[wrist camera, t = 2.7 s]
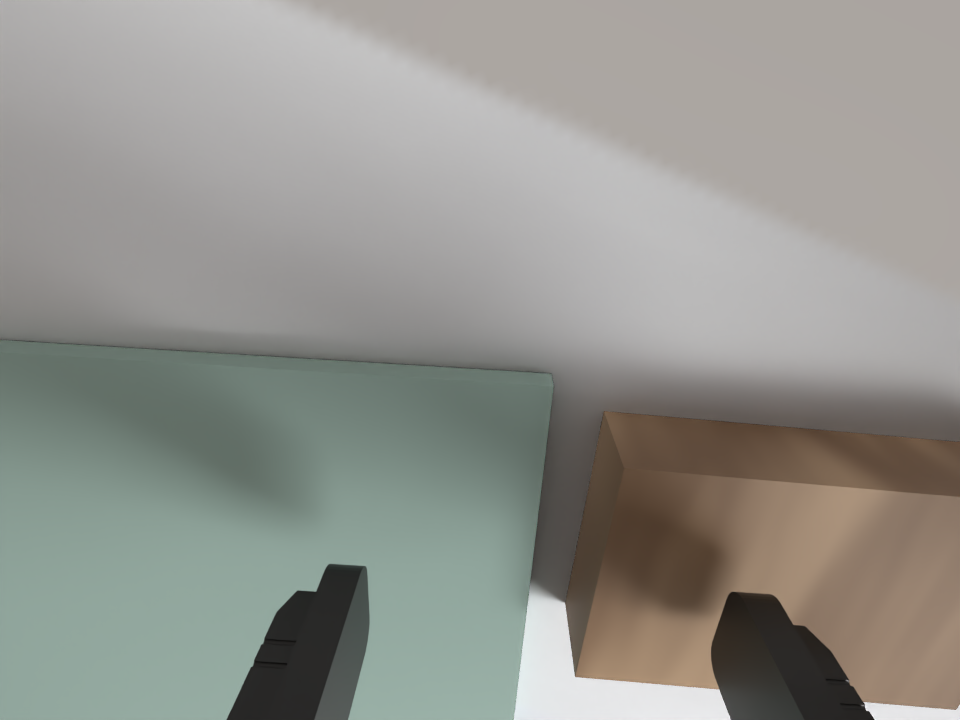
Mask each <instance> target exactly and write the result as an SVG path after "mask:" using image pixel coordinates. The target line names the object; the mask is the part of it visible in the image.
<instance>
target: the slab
mask: <svg viewBox="0 0 960 720" xmlns="http://www.w3.org/2000/svg"><path fill="white" fill-rule="evenodd" d="M731 592H746V593H761V594H772V595H774V596H775V597H776V598H777V599H778V600H779V602H780V603H781V605H782V606H783V608H784V610H785V611H786V613H787V615H788V617H789V618H790V620H791V622H792V623H793V625H801V626H805V627H807V628H808V629H809V630H810V631H811V632H812V633H813V634H814V635H815V636H816V637H817V638H818V639H819V640H820V641H821V642H822V643H823V644H824V645H825V646H826V647H827V648H828V649H829V650H830V651H831V652H832V653H833V655H834V657H835V658H836V660H837V661H838V663H839V664H840V666H841V668H842V669H843V671H844V672H845V674H846V676H847V677H848V679H849V683H850V686H853V687H854V688H855V690H856V691H857V693H858V695H859V696H860V698H861V699H862V701H863V702H871V703H883V704H894V705H906V706H918V707H929V708H941V709H952V710H956V709H957V708H958V706H959V705H960V442H953V441H942V440H930V439H919V438H907V437H896V436H884V435H873V434H861V433H850V432H838V431H827V430H815V429H803V428H792V427H780V426H769V425H757V424H746V423H734V422H723V421H711V420H700V419H688V418H677V417H665V416H654V415H642V414H631V413H619V412H607V411H604V413H603V418H602V423H601V428H600V433H599V438H598V443H597V448H596V453H595V458H594V463H593V468H592V473H591V478H590V483H589V488H588V493H587V498H586V503H585V508H584V513H583V518H582V522H581V527H580V532H579V537H578V542H577V547H576V552H575V557H574V562H573V567H572V572H571V577H570V582H569V587H568V592H567V597H566V602H565V604H566V612H567V619H568V627H569V634H570V642H571V649H572V657H573V664H574V672H575V677H582V678H594V679H606V680H617V681H629V682H640V683H652V684H663V685H675V686H686V687H698V688H710V689H719V687H718V684H717V682H716V679H715V676H714V673H713V668H712V662H711V646H712V641H713V638H714V635H715V632H716V629H717V626H718V623H719V620H720V617H721V614H722V611H723V608H724V605H725V602H726V599H727V597H728V595H729V594H730V593H731Z"/></svg>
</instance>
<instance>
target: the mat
mask: <svg viewBox="0 0 960 720" xmlns="http://www.w3.org/2000/svg"><path fill="white" fill-rule="evenodd" d="M553 389H554V384H553V379H552V375H551V374H550V373H534V372H518V371H501V370H485V369H468V368H452V367H436V366H419V365H403V364H387V363H370V362H354V361H337V360H321V359H305V358H288V357H272V356H255V355H239V354H223V353H206V352H190V351H173V350H157V349H141V348H124V347H108V346H92V345H75V344H59V343H42V342H26V341H10V340H0V720H227V718H228V715H229V713H230V711H231V709H232V707H233V705H234V703H235V700H236V698H237V696H238V694H239V692H240V690H241V687H242V685H243V683H244V681H245V679H246V677H247V674H248V672H249V670H250V668H251V667H253V664H254V659H255V657H256V655H257V653H258V651H259V649H260V646H261V644H263V643H264V638H265V636H266V633H267V631H268V629H269V627H270V625H271V623H272V621H273V618H274V616H275V614H276V612H277V611H278V610H279V609H280V608H281V607H282V606H283V605H284V604H285V603H286V602H287V601H288V600H289V599H290V597H291V596H292V595H293V594H294V593H295V592H296V591H297V590H300V591H314V592H316V591H317V588H318V586H319V583H320V581H321V578H322V576H323V573H324V571H325V569H326V567H327V565H328V564H343V565H358V566H366V568H367V575H368V595H369V614H370V625H369V635H368V642H367V648H366V652H365V656H364V660H363V664H362V668H361V672H360V676H359V680H358V683H357V687H356V691H355V695H354V699H353V703H352V707H351V711H350V714H349V718H348V720H514V712H515V704H516V695H517V687H518V679H519V671H520V662H521V654H522V646H523V637H524V629H525V621H526V613H527V604H528V596H529V588H530V579H531V571H532V563H533V555H534V546H535V538H536V530H537V521H538V513H539V505H540V497H541V488H542V480H543V472H544V463H545V455H546V447H547V439H548V430H549V422H550V414H551V405H552V397H553Z"/></svg>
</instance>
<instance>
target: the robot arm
mask: <svg viewBox="0 0 960 720" xmlns="http://www.w3.org/2000/svg"><path fill="white" fill-rule="evenodd" d="M369 625H370V614H369V595H368V575H367V568H366V566H358V565H343V564H328V565H327V567H326V569H325V571H324V573H323V576H322V578H321V581H320V583H319V586H318V588H317V591H316V592H314V591H300V590H297V591H296V592H295V593H294V594H293V595H292V596H291V597H290V599H289V600H288V601H287V602H286V603H285V604H284V605H283V606H282V607H281V608H280V609H279V610H278V611H277V612H276V614H275V616H274V618H273V621H272V623H271V625H270V627H269V629H268V631H267V633H266V636H265V638H264V643H263V644H261V646H260V649H259V651H258V653H257V655H256V657H255V659H254V664H253V667H251V668H250V670H249V672H248V674H247V677H246V679H245V681H244V683H243V685H242V687H241V690H240V692H239V694H238V696H237V698H236V700H235V703H234V705H233V707H232V709H231V711H230V713H229V715H228V718H227V720H348V718H349V714H350V711H351V707H352V703H353V699H354V695H355V691H356V687H357V683H358V680H359V676H360V672H361V668H362V664H363V660H364V656H365V652H366V648H367V642H368V635H369ZM711 662H712V668H713V673H714V676H715V679H716V682H717V684H718V687H719V690H720V692H721V695H722V697H723V700H724V702H725V705H726V708H727V710H728V713H729V715H730V718H731V720H874V719H873V717H872V715H871V714H870V712H869V711H866V709H865V704H864V703H863V701H862V699H861V698H860V696H859V695H858V693H857V691H856V690H855V688H854V687H853V686H850V683H849V679H848V677H847V676H846V674H845V672H844V671H843V669H842V668H841V666H840V664H839V663H838V661H837V660H836V658H835V657H834V655H833V653H832V652H831V651H830V650H829V649H828V648H827V647H826V646H825V645H824V644H823V643H822V642H821V641H820V640H819V639H818V638H817V637H816V636H815V635H814V634H813V633H812V632H811V631H810V630H809V629H808V628H807V627H805V626H801V625H793V623H792V622H791V620H790V618H789V617H788V615H787V613H786V611H785V610H784V608H783V606H782V605H781V603H780V602H779V600H778V599H777V598H776V597H775V596H774V595H772V594H761V593H746V592H731V593H730V594H729V595H728V597H727V599H726V602H725V605H724V608H723V611H722V614H721V617H720V620H719V623H718V626H717V629H716V632H715V635H714V638H713V641H712V646H711Z"/></svg>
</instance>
